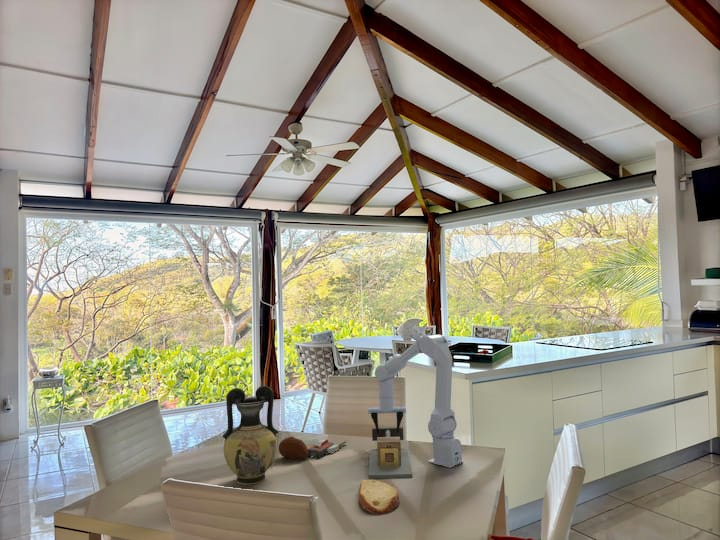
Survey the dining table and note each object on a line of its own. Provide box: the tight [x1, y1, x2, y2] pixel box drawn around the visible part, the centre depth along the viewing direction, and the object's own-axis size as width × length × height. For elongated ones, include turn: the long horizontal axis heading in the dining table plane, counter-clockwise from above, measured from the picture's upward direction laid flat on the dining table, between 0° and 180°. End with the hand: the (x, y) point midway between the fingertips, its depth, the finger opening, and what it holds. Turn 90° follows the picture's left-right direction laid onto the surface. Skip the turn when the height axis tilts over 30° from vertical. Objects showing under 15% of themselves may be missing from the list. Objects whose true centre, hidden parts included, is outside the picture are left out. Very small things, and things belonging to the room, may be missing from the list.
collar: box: [380, 446, 399, 467], centre depth 162 cm, size 2×6×6 cm, turn 88°
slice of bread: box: [358, 478, 400, 516], centre depth 137 cm, size 18×18×4 cm
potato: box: [278, 436, 308, 460], centre depth 176 cm, size 8×12×8 cm, turn 78°
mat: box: [368, 449, 413, 479], centre depth 166 cm, size 26×14×1 cm, turn 178°
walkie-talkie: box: [307, 438, 347, 458], centre depth 185 cm, size 9×4×20 cm
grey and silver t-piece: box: [371, 426, 404, 447], centre depth 176 cm, size 22×12×4 cm, turn 178°
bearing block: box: [376, 437, 402, 466], centre depth 166 cm, size 6×8×8 cm
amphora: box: [222, 385, 279, 486], centre depth 157 cm, size 18×17×30 cm
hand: (387, 432), depth 184 cm, fingers open, 7 cm apart
